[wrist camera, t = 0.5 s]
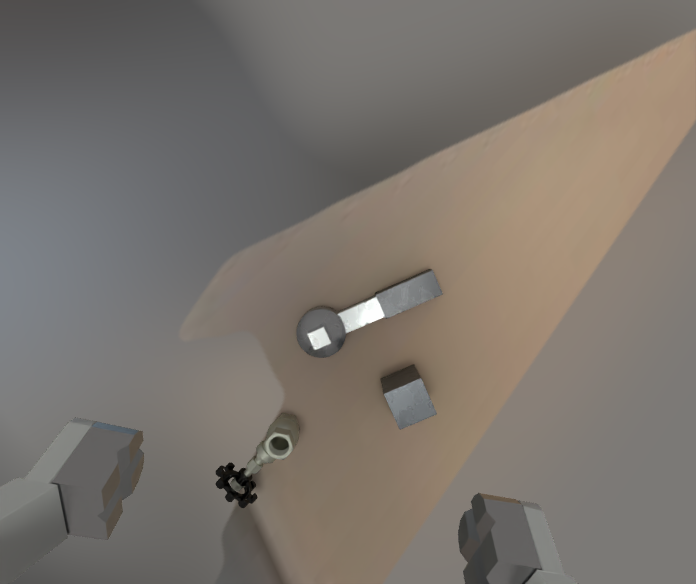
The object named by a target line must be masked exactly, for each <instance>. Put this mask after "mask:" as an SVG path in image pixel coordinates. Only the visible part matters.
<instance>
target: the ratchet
mask: <svg viewBox="0 0 696 584" xmlns="http://www.w3.org/2000/svg"><path fill="white" fill-rule="evenodd" d="M442 294H443V293H442V291H441V289H440V286H439V284H438V282H437V279H436V277H435V275H434V272H433V270H431V269H428V270H426V271H424V272H421V273H419V274H417V275H415V276H412V277H410V278H408V279H406V280H403V281H401V282H399V283H396V284H394V285H392V286H390V287H387V288H385V289H383V290H381V291H378V292H376V293H375V296H372V297H370V298H368V299H366V300H363V301H361V302H359V303H356V304H354V305H352V306H350V307H347V308H345V309H343V310H341V311H338V312H337V311H336V310H334V309H332V308H330V307H325V306H320V307H315V308H312V309H311V310H309V311H308V312H306V313H305V315H304V316H303V317H302V319H301V320H300V322H299V324H298V327H297V340H298V343H299V345H300V347H301V348H302V349H303V350H304V351H305V352H306V353H307V354H309V355H311V356H314V357H318V358H324V357H329V356H331V355H333V354H335V353H336V352H338V351H339V350H340V348H341V347H342V345H343V343H344V341H345V336H346V333H348V332H350V331H353V330H355V329H357V328H360V327H362V326H364V325H366V324H369V323H371V322H373V321H376V320H378V319H380V318H383V317H385V318H386V319H387V318H389V317H392V316H394V315H396V314H398V313H401V312H403V311H405V310H408V309H410V308H412V307H414V306H417V305H419V304H421V303H424V302H426V301H428V300H431V299H433V298H435V297H437V296H440V295H442Z"/></svg>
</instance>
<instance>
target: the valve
mask: <svg viewBox="0 0 696 584" xmlns="http://www.w3.org/2000/svg"><path fill="white" fill-rule="evenodd" d="M299 430H300V427H299V424H298V421H297V419H296V416H294V415H289V414H285V413H282V414H281V415H280V416H279V417H278V418H277V419H276V420H275V421H274V422H273V423H272V424H271V425H270V427H269V429H268V432H267V437H266V440H265V441H262V442H261V443H260V444H259V445H258V446H257V448H256V450H257V457H256V456H254V457H253V458H252V459H251V460H250V461H249V462H248V464H247V469H245V468H242V469H241V470H240V471H239V472H237V471H234V470H233V468H234V467H235V466H234V464H233V463H228V465H227V466H226V467H224V466H220V467H219V468H218V469H217V470H216V475H217V476H219V477H221V478H220V479H219V480H218V481H217V482H216V486H217V487H218V488H219V489H222V488H224V489H225V490H226V491H227V495H226V496H225V498H226V500H227V501H228V502H232V501H233V500H234V499H237V500H238V501H239V502H238V504H239V506H240V507H241V508H245V507H246V506H247V505H248V504H249V503H251V504H252V503H253V502H254V501H255V500H256V499H257V495H256V493H254V494H253V495H252V494H251V491H252V490H253V489H254V488H255V487H256V484H255V482H254V481H251V480H252V473H254V474H256V473H257V472H258V471H259V470H260V469H261V468H262V467H263V463H273V462H274V461H275V460H276V459H282V460H284V459H285V458H286V457H287V456H288V455H289V454H290V453H291V452H292V451H293V449H294V447H295V445H296V443H297V441H298V438H299ZM223 469H225V471H226V472H225V471H224V470H223ZM232 477H234V479H233V480H232V481H231V486H232V487H231V486H230V484H229V483H228V480H229V479H230V478H232ZM242 488H244V490H245V493H244V494H240V493H237V492H236V491H240V490H241V489H242ZM235 490H236V491H235ZM246 499H247V500H246Z"/></svg>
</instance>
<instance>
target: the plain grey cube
mask: <svg viewBox="0 0 696 584" xmlns="http://www.w3.org/2000/svg"><path fill="white" fill-rule="evenodd" d="M381 383H382V388H383V392H384V396H385V398H386V400H387V402H388V404H389V407H390V409H391V411H392V413H393V416H394V418H395V420H396V422H397V424H398V427H399V429H403V428H405V427H408V426H410V425H412V424H415V423H417V422H419V421H422V420H424V419H427V418H429V417H431V416H434V415H436V414H437V413H436V411H435V409H434V406H433V404H432V402H431V399H430V397H429V395H428V393H427V390H426V388H425V386H424V383H423V381H422V379H421V377H420V375H419V373H418V371H417V369H416V367H415V365H411V366H409V367H407V368H404V369H402V370H400V371H397V372H395V373H393V374H390V375H388V376H386V377H383V378H381Z"/></svg>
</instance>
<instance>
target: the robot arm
mask: <svg viewBox="0 0 696 584" xmlns="http://www.w3.org/2000/svg"><path fill="white" fill-rule="evenodd" d="M142 442H143V432H142V431H139V430H134V429H130V428H125V427H120V426H115V425H110V424H106V423H101V422H97V421H91V420H86V419H81V418H76V417H75V418H74V419H73V420H71V421H70V422H68V423H67V424H66V426H65V427H64V428H63V430H62V431H61V432H60V433H59V435H58V436H57V437H56V438H55V440H54V441H53V442H52V444H51V445H50V446H49V448H48V449H47V450H46V451H45V453H44V454H43V455H42V457H41V458H40V459H39V460H38V462H37V463H36V464H35V465H34V467H33V468H32V469H31V470H30V472H29V473H28V474H27V476H26V477H25V478H24V479H23V478H15V479H14V480H12V481H10V482H8V483H6V484H5V485H3V486H1V487H0V584H10V583H11V582H12V581H14V580H15V579H16V578H18V577H19V576H20V575H21V574H23V573H24V572H25V571H26V570H28V569H29V568H30V567H31V566H32V565H34V564H35V563H36V562H37V561H39V560H40V559H41V558H43V557H44V556H45V555H46V554H48V553H49V552H50V551H51V550H53V549H54V548H55V547H56V546H58V545H59V544H60V543H62V542H63V541H64V540H65V539H67V537H68V535H73V536H80V537H87V538H94V539H101V540H108V539H109V537H110V535H111V533H112V531H113V529H114V527H115V526H116V524H117V522H118V520H119V518H120V516H121V514H122V512H123V509H122V500H124V499H125V498H127V497H128V496H130V495H131V494H132V493H133V491H134V489H135V487H136V485H137V483H138V481H139V478H140V475H141V472H142V469H143V463H144V453H143V452H142V450H140V446H141V444H142ZM471 503H472V509H470V510H468V511H466V512H464V514H463V516H462V518H461V520H460V525H459V530H458V540H459V548H460V553H461V554H462V555H463V557H464V558H465V560H466V561H467V562H468V563H467V565H466V567H465V569H464V571H463V574H464V579H465V584H578V583H577V582H576V581H575V579H574V578H573V577H572V576H570V575H566V574H565V572H564V569H563V566H562V564H561V561H560V558H559V555H558V552H557V549H556V547H555V544H554V541H553V538H552V535H551V533H550V530H549V527H548V524H547V521H546V518H545V515H544V513H543V510H542V508H541V507H540V506H539V505H538V504H535V503H530V502H524V501H518V500H516V499H511V498H505V497H499V496H493V495H487V494H481V493H478V494H476V495H475V496H474V497H473V499H472V501H471Z"/></svg>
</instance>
